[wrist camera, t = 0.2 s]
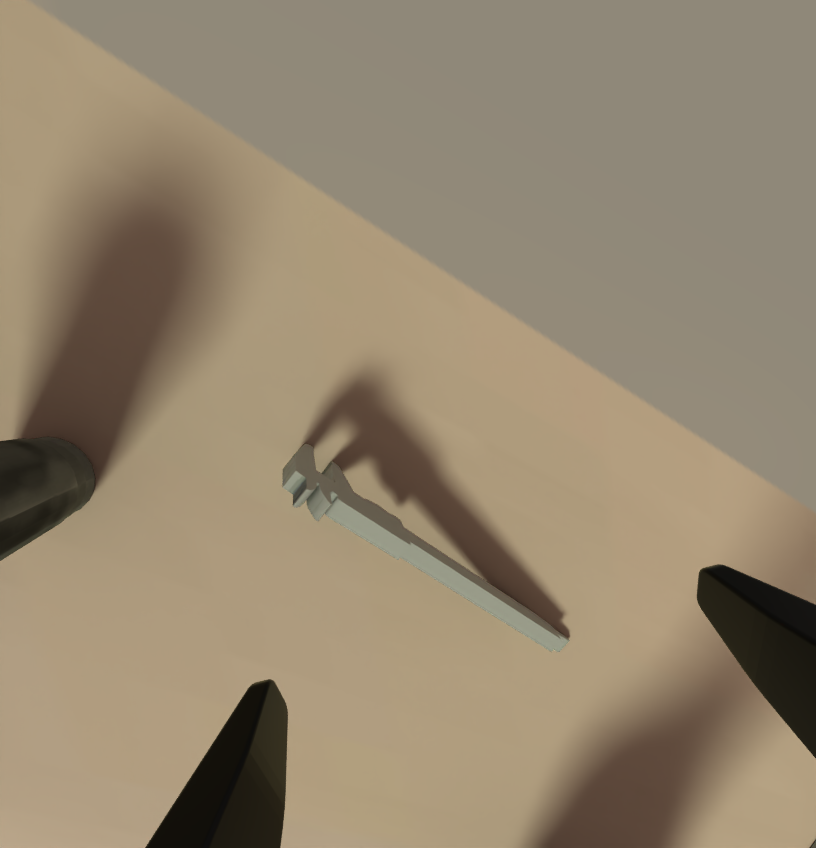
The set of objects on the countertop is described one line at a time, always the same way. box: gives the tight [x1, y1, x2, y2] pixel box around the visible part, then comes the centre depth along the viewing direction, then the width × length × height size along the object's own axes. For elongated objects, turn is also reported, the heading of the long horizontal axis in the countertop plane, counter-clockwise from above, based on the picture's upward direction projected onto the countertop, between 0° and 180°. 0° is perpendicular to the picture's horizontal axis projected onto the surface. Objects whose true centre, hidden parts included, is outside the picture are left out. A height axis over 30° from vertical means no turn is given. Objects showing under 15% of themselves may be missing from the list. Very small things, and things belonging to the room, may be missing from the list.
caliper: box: [283, 443, 570, 652], centre depth 22 cm, size 20×1×6 cm, turn 51°
